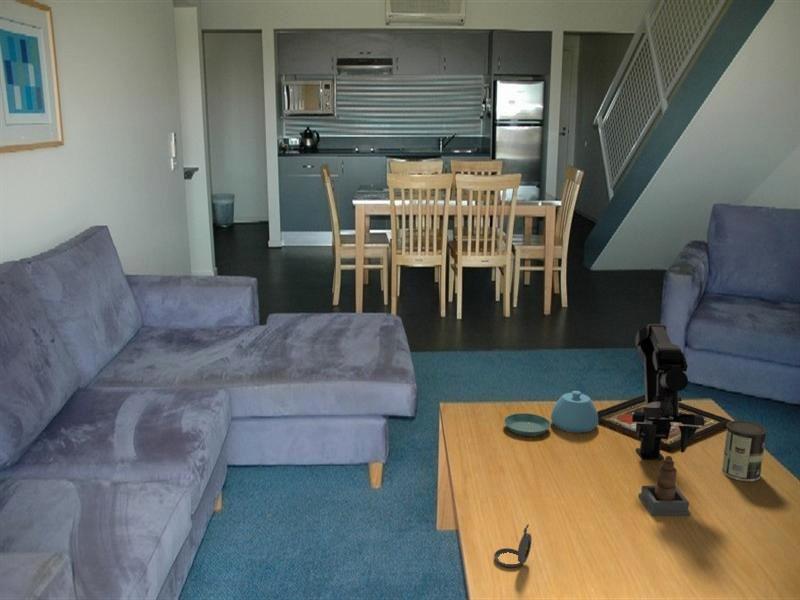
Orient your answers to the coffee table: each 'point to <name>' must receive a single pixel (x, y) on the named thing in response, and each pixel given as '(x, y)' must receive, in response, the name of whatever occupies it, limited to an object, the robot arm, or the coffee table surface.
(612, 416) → the framed icon painting
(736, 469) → the coffee can
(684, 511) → the slate open box
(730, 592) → the coffee table surface
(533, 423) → the saucer
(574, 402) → the sugar bowl
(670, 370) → the robot arm
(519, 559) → the pocket watch
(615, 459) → the coffee table surface
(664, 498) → the pepper mill
